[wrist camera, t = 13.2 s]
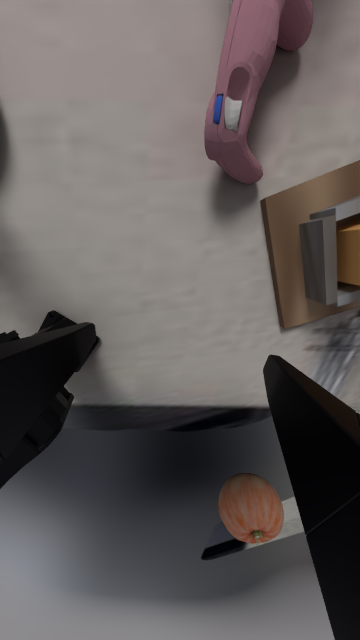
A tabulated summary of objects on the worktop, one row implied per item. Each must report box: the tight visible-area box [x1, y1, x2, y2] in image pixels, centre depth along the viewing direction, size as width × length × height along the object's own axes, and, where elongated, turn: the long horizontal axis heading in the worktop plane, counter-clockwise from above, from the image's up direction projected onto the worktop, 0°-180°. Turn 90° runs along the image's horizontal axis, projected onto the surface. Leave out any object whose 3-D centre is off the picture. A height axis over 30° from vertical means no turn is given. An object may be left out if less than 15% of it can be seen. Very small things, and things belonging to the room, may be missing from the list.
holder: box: [261, 160, 360, 329], centre depth 17 cm, size 14×14×4 cm
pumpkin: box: [218, 473, 284, 545], centre depth 31 cm, size 11×11×8 cm
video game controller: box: [204, 0, 313, 184], centre depth 12 cm, size 10×5×7 cm, turn 167°
